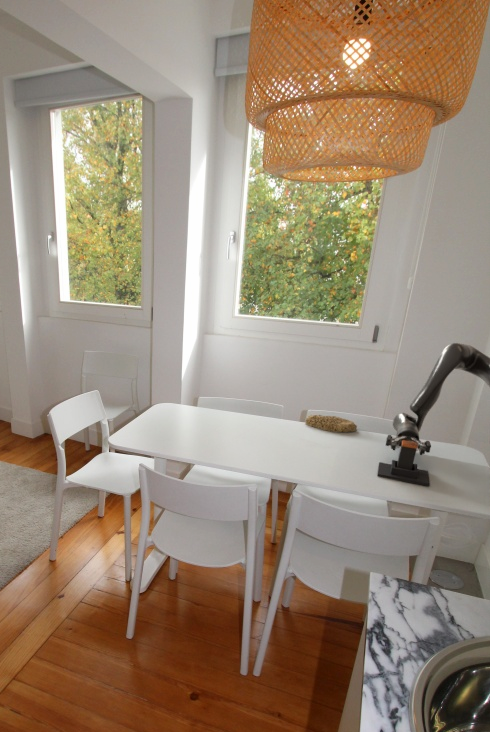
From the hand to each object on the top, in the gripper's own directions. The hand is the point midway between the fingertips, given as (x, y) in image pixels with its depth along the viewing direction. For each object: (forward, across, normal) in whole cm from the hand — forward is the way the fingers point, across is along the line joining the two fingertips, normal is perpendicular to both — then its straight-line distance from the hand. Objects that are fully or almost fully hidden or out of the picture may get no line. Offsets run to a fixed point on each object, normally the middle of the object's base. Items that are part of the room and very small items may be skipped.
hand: (408, 450), depth 164 cm
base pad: (+1, 0, +9) cm, 9 cm away
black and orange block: (+1, 0, +8) cm, 8 cm away
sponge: (-35, -29, +9) cm, 47 cm away
